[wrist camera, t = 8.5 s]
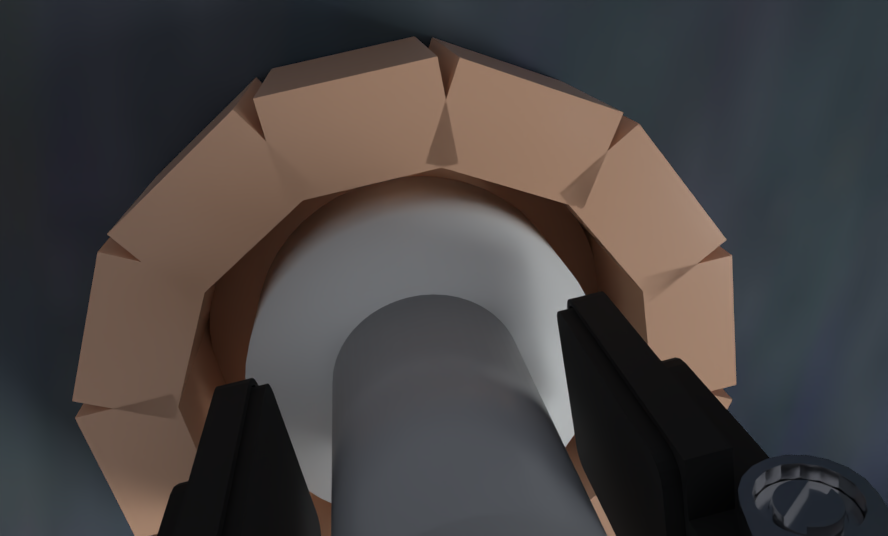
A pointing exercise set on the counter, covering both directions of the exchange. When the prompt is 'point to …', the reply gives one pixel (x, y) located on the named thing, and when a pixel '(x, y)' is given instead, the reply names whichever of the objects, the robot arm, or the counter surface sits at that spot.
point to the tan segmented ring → (344, 169)
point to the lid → (424, 364)
